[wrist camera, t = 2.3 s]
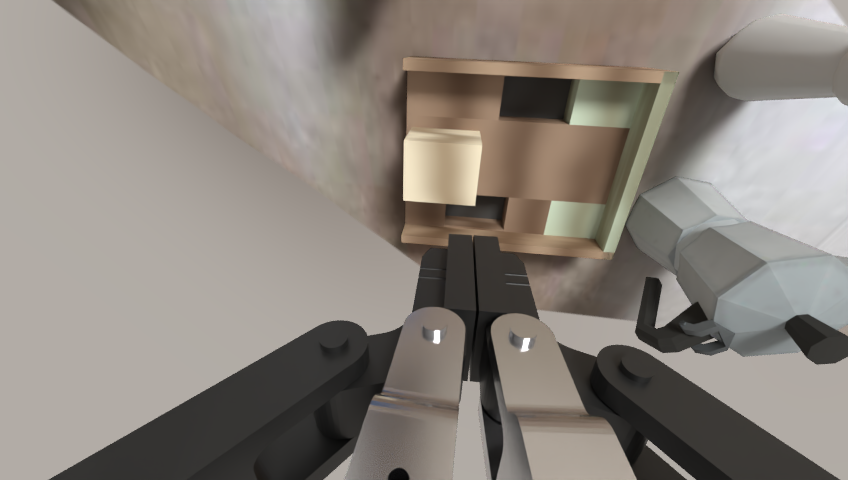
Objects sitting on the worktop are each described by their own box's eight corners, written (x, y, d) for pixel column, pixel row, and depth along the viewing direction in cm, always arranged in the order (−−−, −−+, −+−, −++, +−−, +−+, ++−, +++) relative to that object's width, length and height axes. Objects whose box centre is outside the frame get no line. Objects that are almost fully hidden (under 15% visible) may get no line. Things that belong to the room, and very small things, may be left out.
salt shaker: (685, 65, 29) (825, 80, 18) (755, -2, 27) (969, -35, 15) (728, 110, 31) (884, 150, 19) (798, 50, 28) (1025, 55, 17)
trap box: (408, 220, 39) (401, 242, 34) (411, 56, 31) (403, 58, 27) (594, 234, 37) (611, 259, 33) (647, 67, 30) (679, 72, 25)
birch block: (410, 180, 34) (403, 200, 29) (412, 126, 31) (403, 140, 27) (473, 184, 33) (475, 206, 29) (479, 131, 31) (482, 145, 27)
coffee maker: (729, 145, 32) (985, 243, 16) (754, 219, 35) (989, 361, 19) (571, 225, 37) (650, 357, 22) (605, 283, 40) (695, 435, 25)
